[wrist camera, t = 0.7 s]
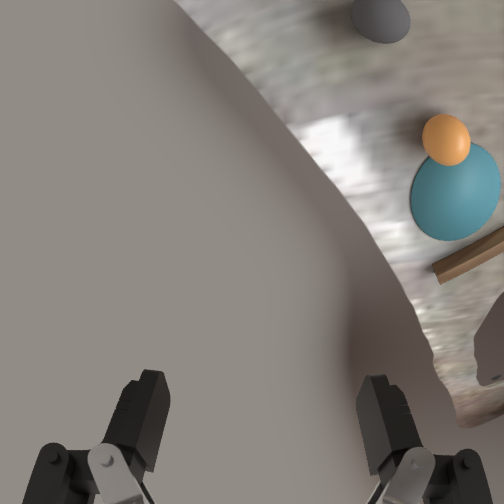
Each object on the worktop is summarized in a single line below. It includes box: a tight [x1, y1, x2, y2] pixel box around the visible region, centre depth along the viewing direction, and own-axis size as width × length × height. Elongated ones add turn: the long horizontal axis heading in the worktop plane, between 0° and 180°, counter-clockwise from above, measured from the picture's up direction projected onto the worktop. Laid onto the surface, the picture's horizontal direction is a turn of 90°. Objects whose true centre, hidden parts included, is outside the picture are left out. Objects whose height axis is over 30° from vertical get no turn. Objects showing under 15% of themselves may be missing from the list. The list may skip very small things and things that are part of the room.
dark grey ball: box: [351, 0, 410, 44], centre depth 18 cm, size 6×6×6 cm
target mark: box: [411, 143, 501, 241], centre depth 30 cm, size 14×14×1 cm
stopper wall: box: [432, 227, 504, 285], centre depth 34 cm, size 2×14×2 cm, turn 128°
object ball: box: [422, 114, 471, 166], centre depth 24 cm, size 6×6×6 cm
